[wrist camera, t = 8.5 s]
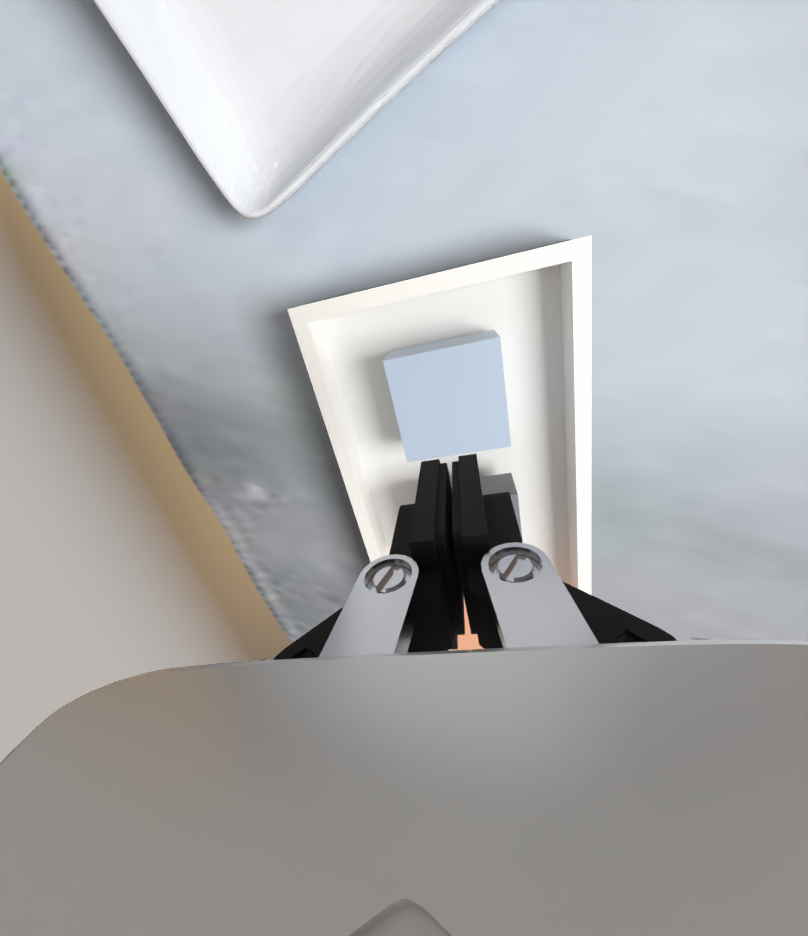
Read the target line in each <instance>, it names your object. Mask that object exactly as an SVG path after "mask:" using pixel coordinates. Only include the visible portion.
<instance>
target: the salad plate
mask: <svg viewBox="0 0 808 936" xmlns="http://www.w3.org/2000/svg"><path fill="white" fill-rule="evenodd" d="M93 1H94V2H95V4H96V5H97V7H98V8H99V10H100V11H101V13H102V14H103V16H104V17H105V19H106V20H107V22H108V23H109V25H110V26H111V28H112V29H113V31H114V33H115V34H116V35H117V37H118V38H119V40H120V41H121V43H122V44H123V46H124V47H125V48H126V50H127V52H128V53H129V55H130V56H131V58H132V59H133V61H134V62H135V64H136V65H137V67H138V68H139V70H140V71H141V73H142V74H143V76H144V78H145V79H146V81H147V82H148V84H149V85H150V87H151V88H152V90H153V91H154V93H155V94H156V96H157V97H158V99H159V100H160V102H161V103H162V105H163V106H164V108H165V109H166V111H167V112H168V114H169V115H170V117H171V118H172V120H173V122H174V123H175V125H176V126H177V128H178V129H179V131H180V132H181V134H182V135H183V137H184V138H185V140H186V141H187V143H188V144H189V146H190V148H191V149H192V151H193V152H194V154H195V155H196V157H197V158H198V160H199V161H200V163H201V164H202V166H203V167H204V169H205V170H206V172H207V173H208V175H209V176H210V177H211V179H212V180H213V182H214V183H215V184H216V186H217V187H218V189H219V190H220V191H221V193H222V194H223V196H224V197H225V198H226V200H227V201H228V202H229V203H230V204H231V205H232V207H233V208H234V209H235V210H236V211H237V212H238V213H239V214H241V215H243V216H245V217H247V218H251V219H256V218H262V217H264V216H265V215H267V214H269V213H271V212H272V211H274V210H275V209H276V208H278V207H279V206H280V205H281V204H283V203H284V202H285V201H286V200H287V199H288V198H290V197H291V196H292V195H293V194H294V193H295V192H296V191H297V190H298V189H299V188H301V187H302V186H303V185H304V184H305V183H306V182H307V181H308V180H309V179H310V178H311V177H312V176H313V175H314V174H315V173H316V172H317V171H318V170H319V169H320V168H321V167H322V166H323V165H324V164H325V163H326V162H327V161H328V160H329V159H330V158H331V157H332V156H333V155H334V154H335V153H336V152H337V151H338V150H340V149H341V148H342V147H343V146H344V145H345V144H346V143H347V142H348V141H349V140H350V139H351V138H352V137H353V136H354V135H355V134H356V133H357V132H358V131H359V130H360V129H361V128H362V127H363V126H364V125H365V124H366V123H367V122H368V121H369V120H370V119H371V118H372V117H374V116H375V115H376V114H377V113H378V112H379V111H380V110H381V109H382V108H383V107H384V106H385V105H386V104H387V103H388V102H389V101H390V100H392V99H393V98H394V97H395V96H396V95H397V94H398V93H399V92H400V91H401V90H402V89H403V88H404V87H405V86H407V85H408V84H409V83H410V82H411V81H412V80H413V79H414V78H415V77H416V76H417V75H418V74H419V73H420V72H421V71H423V70H424V69H425V68H426V67H427V66H428V65H429V64H430V63H431V62H432V61H433V60H434V59H435V58H436V57H438V56H439V55H440V54H441V53H442V52H443V51H444V50H445V49H446V48H447V47H448V46H450V45H451V44H452V43H453V42H454V41H455V40H456V39H457V38H458V37H460V36H461V35H462V34H463V33H464V32H465V31H466V30H467V29H468V28H470V27H471V26H472V25H473V24H474V23H475V22H476V21H477V20H478V19H480V18H481V17H482V16H483V15H484V14H485V13H486V12H488V11H489V10H490V9H491V8H492V7H493V6H494V5H496V4H497V3H498V2H499V1H500V0H93Z"/></svg>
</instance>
